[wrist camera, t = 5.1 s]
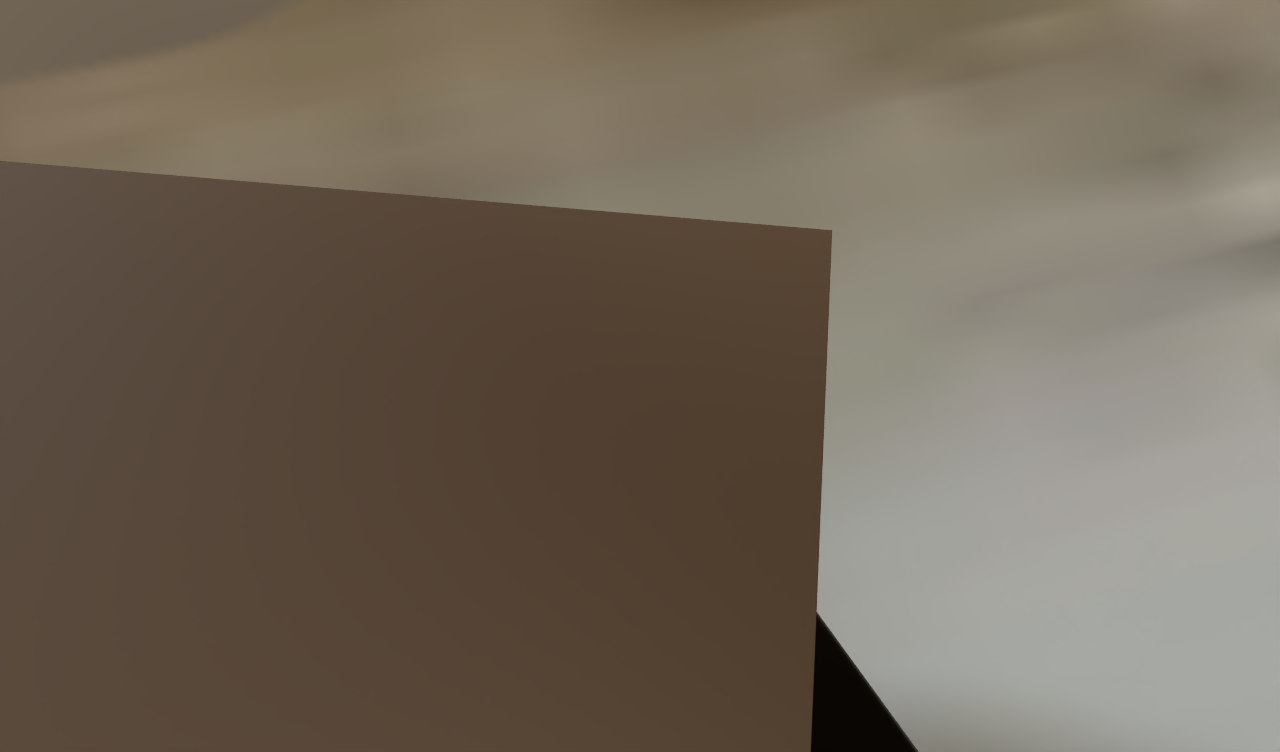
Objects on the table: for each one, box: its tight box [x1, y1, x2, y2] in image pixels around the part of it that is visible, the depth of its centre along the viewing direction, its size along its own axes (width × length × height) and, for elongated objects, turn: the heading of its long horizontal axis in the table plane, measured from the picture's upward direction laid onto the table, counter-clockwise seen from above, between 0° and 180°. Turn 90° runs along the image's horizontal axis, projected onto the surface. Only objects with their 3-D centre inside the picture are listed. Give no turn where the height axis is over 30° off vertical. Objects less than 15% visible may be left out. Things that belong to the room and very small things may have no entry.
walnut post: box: [0, 161, 832, 752], centre depth 9 cm, size 4×4×12 cm
